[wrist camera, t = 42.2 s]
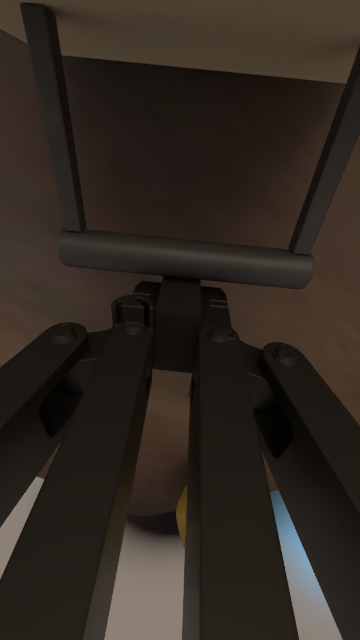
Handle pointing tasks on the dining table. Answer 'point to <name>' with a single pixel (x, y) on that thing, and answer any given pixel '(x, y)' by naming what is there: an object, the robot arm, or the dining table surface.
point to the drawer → (200, 53)
